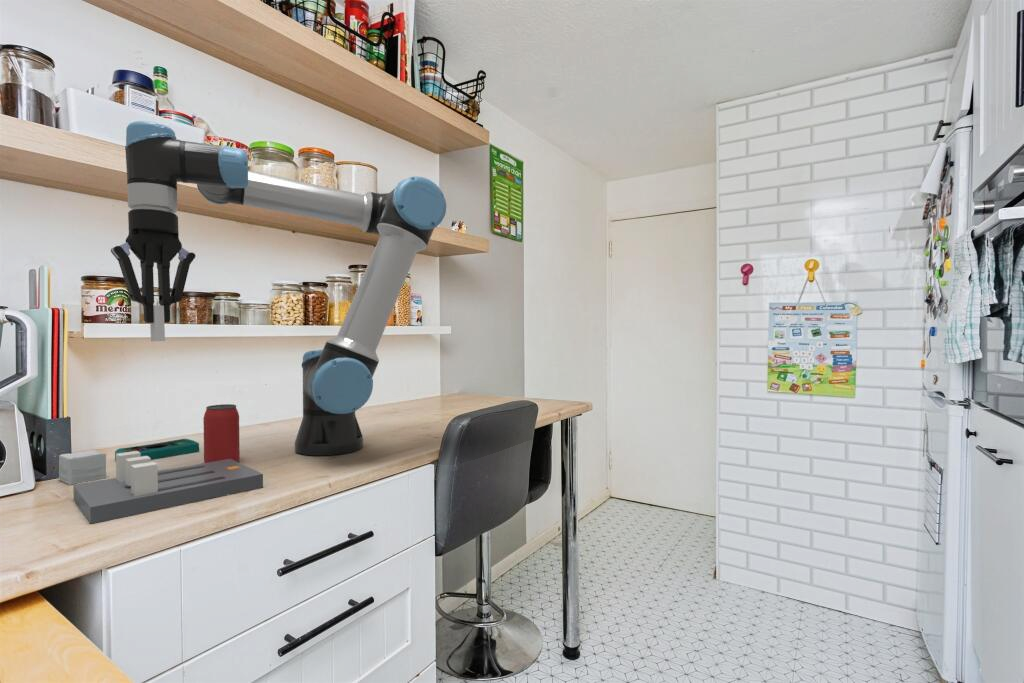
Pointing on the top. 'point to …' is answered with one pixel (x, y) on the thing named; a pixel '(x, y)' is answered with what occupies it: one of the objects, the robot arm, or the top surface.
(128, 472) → the handle
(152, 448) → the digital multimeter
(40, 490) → the top surface
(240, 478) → the breaker panel
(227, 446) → the beer can
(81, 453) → the small box
